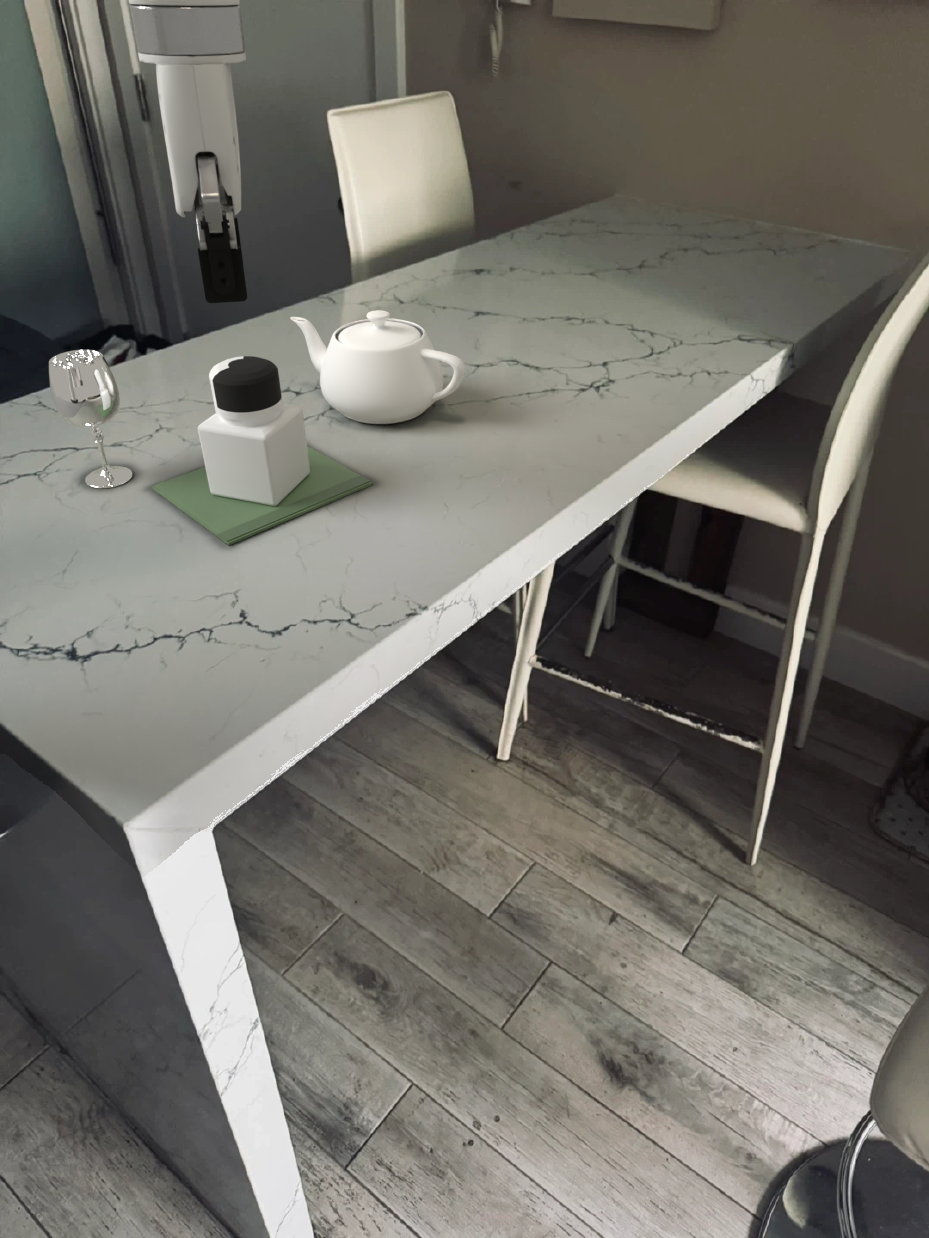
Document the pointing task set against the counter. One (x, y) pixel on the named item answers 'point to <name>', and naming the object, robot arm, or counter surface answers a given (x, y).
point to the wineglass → (88, 404)
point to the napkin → (249, 518)
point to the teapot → (380, 368)
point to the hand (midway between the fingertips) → (226, 283)
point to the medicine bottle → (252, 434)
